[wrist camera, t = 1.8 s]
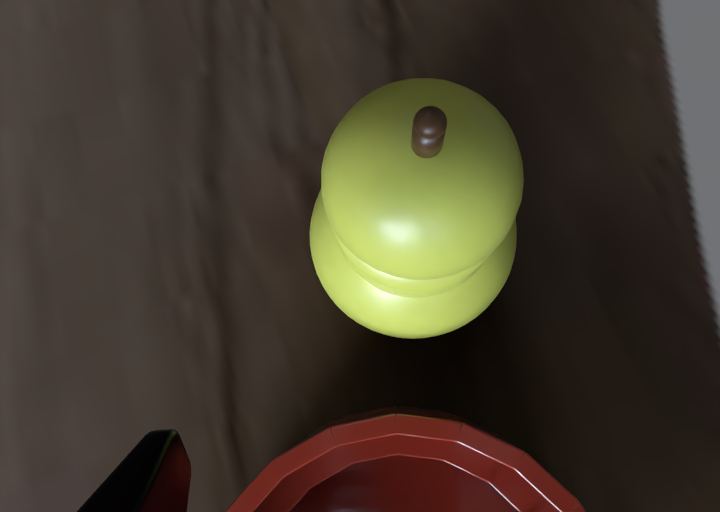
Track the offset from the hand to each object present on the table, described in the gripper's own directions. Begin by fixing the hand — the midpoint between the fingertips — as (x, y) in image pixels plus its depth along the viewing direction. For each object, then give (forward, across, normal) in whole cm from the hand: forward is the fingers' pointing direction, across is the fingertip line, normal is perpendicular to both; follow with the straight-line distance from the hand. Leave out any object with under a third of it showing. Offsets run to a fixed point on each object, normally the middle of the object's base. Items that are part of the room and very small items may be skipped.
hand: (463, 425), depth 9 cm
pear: (+12, 0, +5) cm, 13 cm away
